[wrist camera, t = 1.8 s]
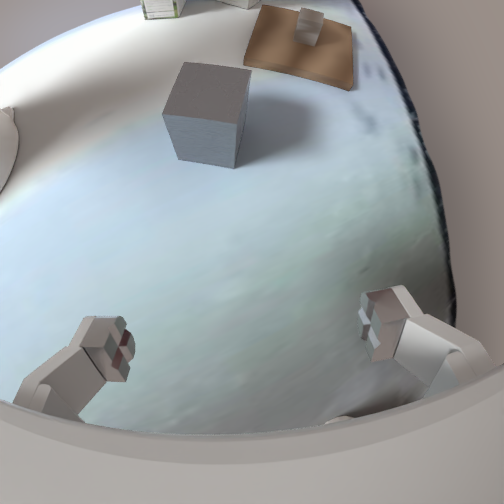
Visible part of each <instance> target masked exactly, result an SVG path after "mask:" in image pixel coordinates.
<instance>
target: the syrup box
mask: <svg viewBox="0 0 504 504" xmlns="http://www.w3.org/2000/svg"><path fill="white" fill-rule="evenodd" d="M140 2H141V6H142V10H143V14H144V18H145V20H149V19H161V18H177V17H179V15H180V13H181V11H182V9H183V7H184V5H185V3H186V0H140Z"/></svg>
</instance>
